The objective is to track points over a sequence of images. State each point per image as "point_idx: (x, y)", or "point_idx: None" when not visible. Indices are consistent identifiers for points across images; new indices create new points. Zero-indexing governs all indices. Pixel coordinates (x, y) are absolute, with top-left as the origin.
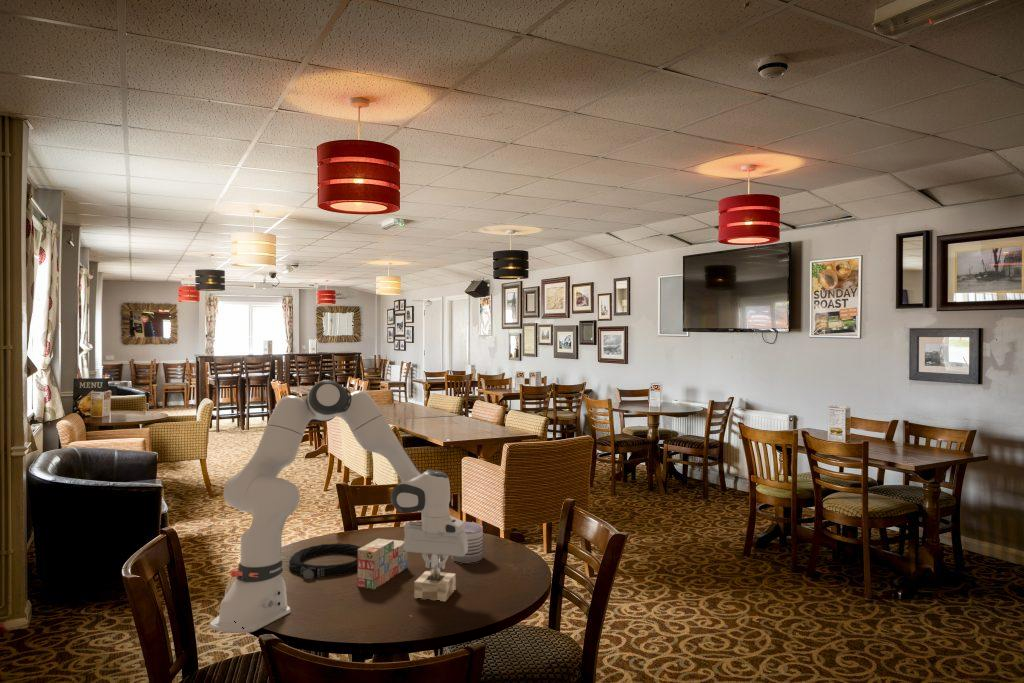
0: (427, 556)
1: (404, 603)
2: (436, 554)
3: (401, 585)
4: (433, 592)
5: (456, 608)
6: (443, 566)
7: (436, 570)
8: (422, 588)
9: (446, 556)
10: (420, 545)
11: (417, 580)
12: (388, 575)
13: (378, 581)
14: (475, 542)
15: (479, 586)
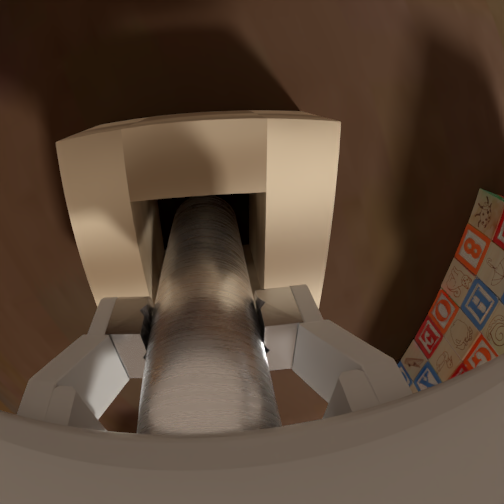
0: (325, 397)
1: (327, 34)
2: (155, 433)
3: (398, 254)
4: (168, 118)
5: (22, 73)
6: (96, 314)
7: (172, 271)
8: (258, 115)
9: (22, 403)
10: (498, 477)
11: (325, 156)
12: (452, 293)
13: (482, 227)
14: None
15: (66, 335)
